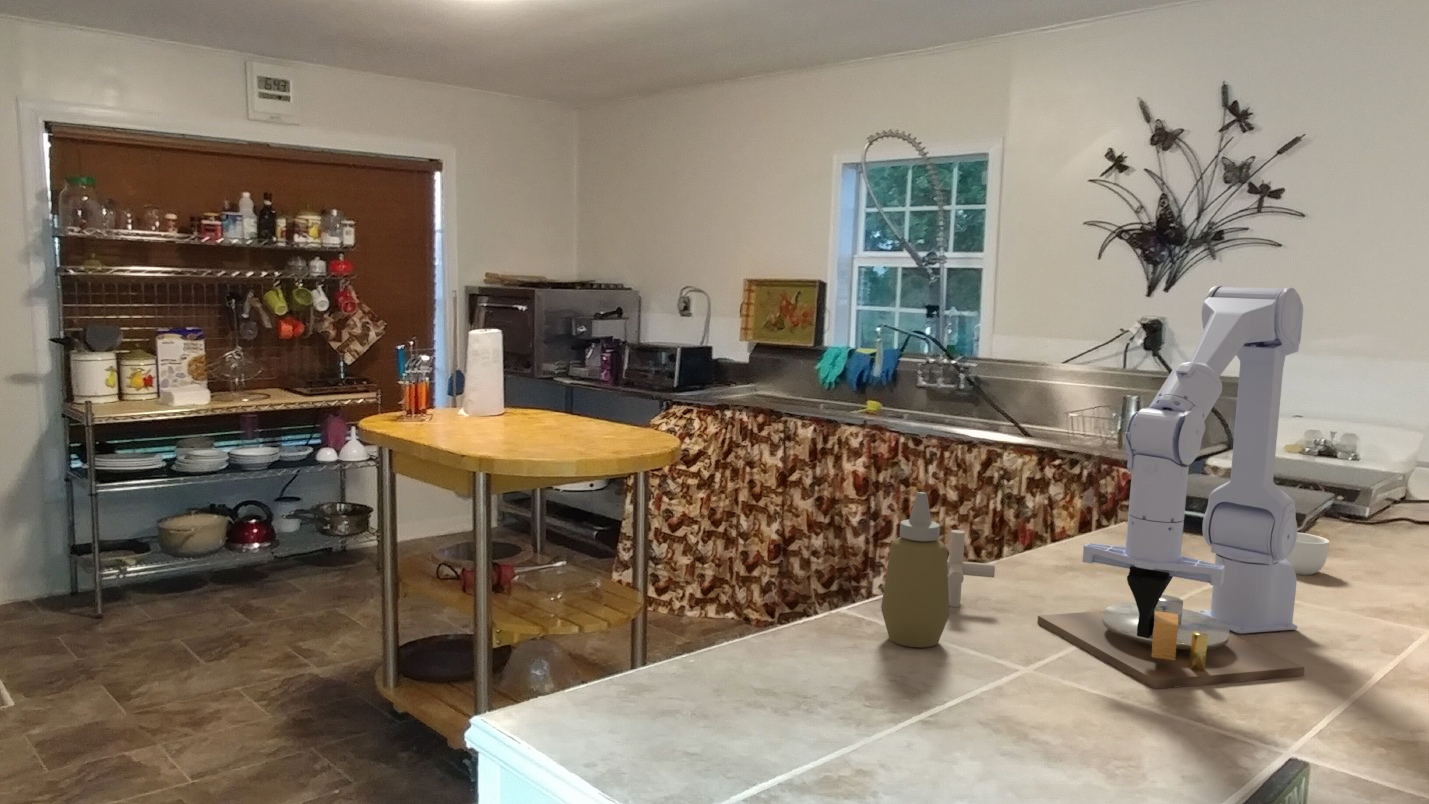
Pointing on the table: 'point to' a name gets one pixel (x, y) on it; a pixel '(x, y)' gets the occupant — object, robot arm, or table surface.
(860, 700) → the table surface
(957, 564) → the pipe connector
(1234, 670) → the flat brown board
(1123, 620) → the disc with block handle
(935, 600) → the squeeze bottle
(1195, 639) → the dowel
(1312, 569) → the teacup
